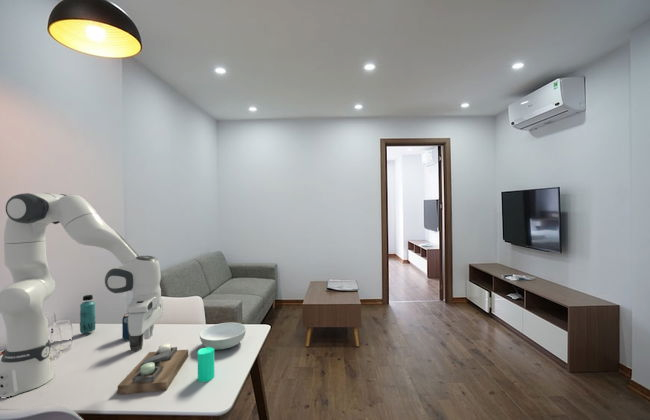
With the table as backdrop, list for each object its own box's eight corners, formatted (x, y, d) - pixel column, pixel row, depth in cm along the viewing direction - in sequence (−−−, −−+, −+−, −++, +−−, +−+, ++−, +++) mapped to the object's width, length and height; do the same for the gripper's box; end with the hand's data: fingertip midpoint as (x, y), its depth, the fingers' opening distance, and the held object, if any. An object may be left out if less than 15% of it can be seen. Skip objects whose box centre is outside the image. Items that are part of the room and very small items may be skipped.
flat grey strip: (141, 367, 115) (140, 364, 115) (146, 361, 119) (145, 358, 119) (167, 358, 116) (166, 355, 116) (171, 353, 120) (171, 350, 120)
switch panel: (117, 394, 104) (117, 380, 104) (149, 359, 129) (149, 347, 129) (166, 390, 106) (166, 376, 106) (188, 356, 131) (188, 345, 131)
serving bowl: (219, 333, 155) (219, 320, 155) (254, 338, 149) (254, 325, 149) (189, 351, 136) (189, 336, 136) (227, 358, 129) (227, 342, 129)
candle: (215, 379, 113) (215, 347, 113) (198, 383, 110) (198, 351, 110) (213, 371, 118) (212, 341, 118) (196, 375, 115) (196, 345, 115)
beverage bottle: (84, 331, 158) (84, 294, 158) (98, 330, 160) (98, 293, 160) (76, 336, 152) (76, 297, 152) (91, 335, 153) (91, 296, 153)
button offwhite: (157, 354, 123) (157, 348, 123) (161, 349, 127) (161, 343, 127) (168, 353, 124) (168, 347, 124) (172, 348, 128) (172, 343, 128)
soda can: (131, 341, 146) (131, 316, 146) (118, 340, 147) (118, 316, 147) (142, 335, 153) (141, 312, 153) (130, 334, 154) (130, 311, 154)
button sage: (138, 375, 107) (138, 369, 107) (144, 369, 111) (144, 362, 111) (151, 374, 108) (151, 368, 108) (156, 368, 112) (156, 361, 112)
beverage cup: (130, 354, 133) (130, 309, 133) (124, 350, 137) (124, 306, 137) (148, 348, 138) (148, 305, 138) (141, 344, 143) (141, 302, 143)
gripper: (150, 292, 119) (151, 327, 119) (123, 310, 99) (124, 351, 99) (167, 291, 120) (168, 326, 120) (144, 308, 100) (145, 349, 100)
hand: (148, 337), depth 110 cm, fingers closed
